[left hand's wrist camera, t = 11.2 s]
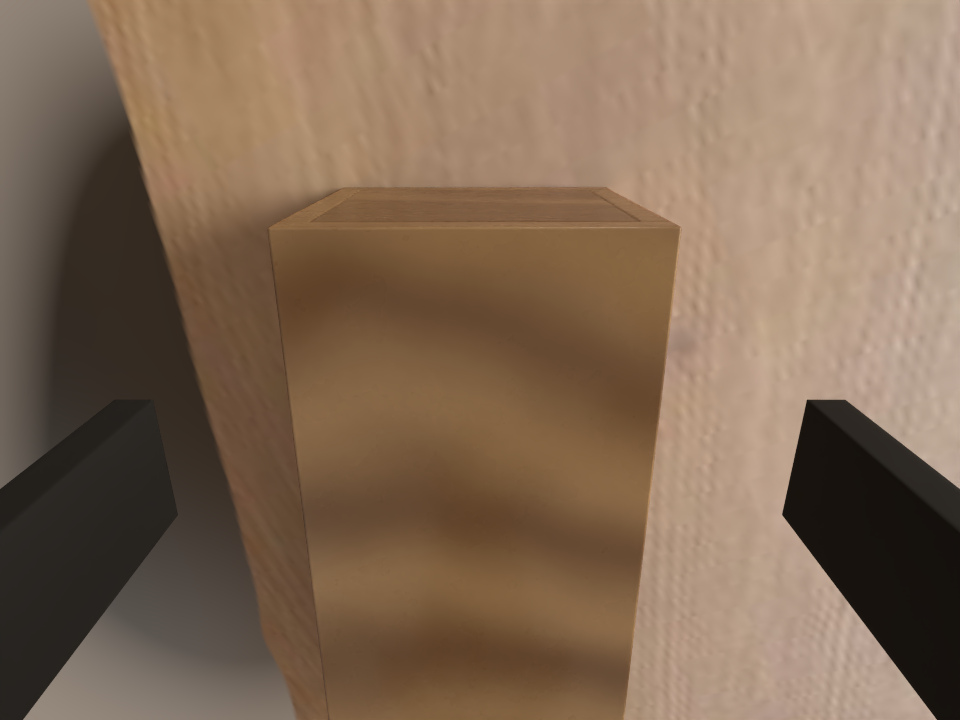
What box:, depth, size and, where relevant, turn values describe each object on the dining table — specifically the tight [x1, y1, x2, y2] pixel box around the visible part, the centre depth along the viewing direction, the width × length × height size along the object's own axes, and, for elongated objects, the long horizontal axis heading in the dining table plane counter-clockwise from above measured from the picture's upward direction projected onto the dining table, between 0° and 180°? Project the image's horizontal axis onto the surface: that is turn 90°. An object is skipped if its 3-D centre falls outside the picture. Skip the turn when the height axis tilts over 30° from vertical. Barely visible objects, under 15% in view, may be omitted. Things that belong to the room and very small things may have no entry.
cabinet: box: [268, 187, 681, 720], centre depth 24 cm, size 19×11×10 cm, turn 0°
